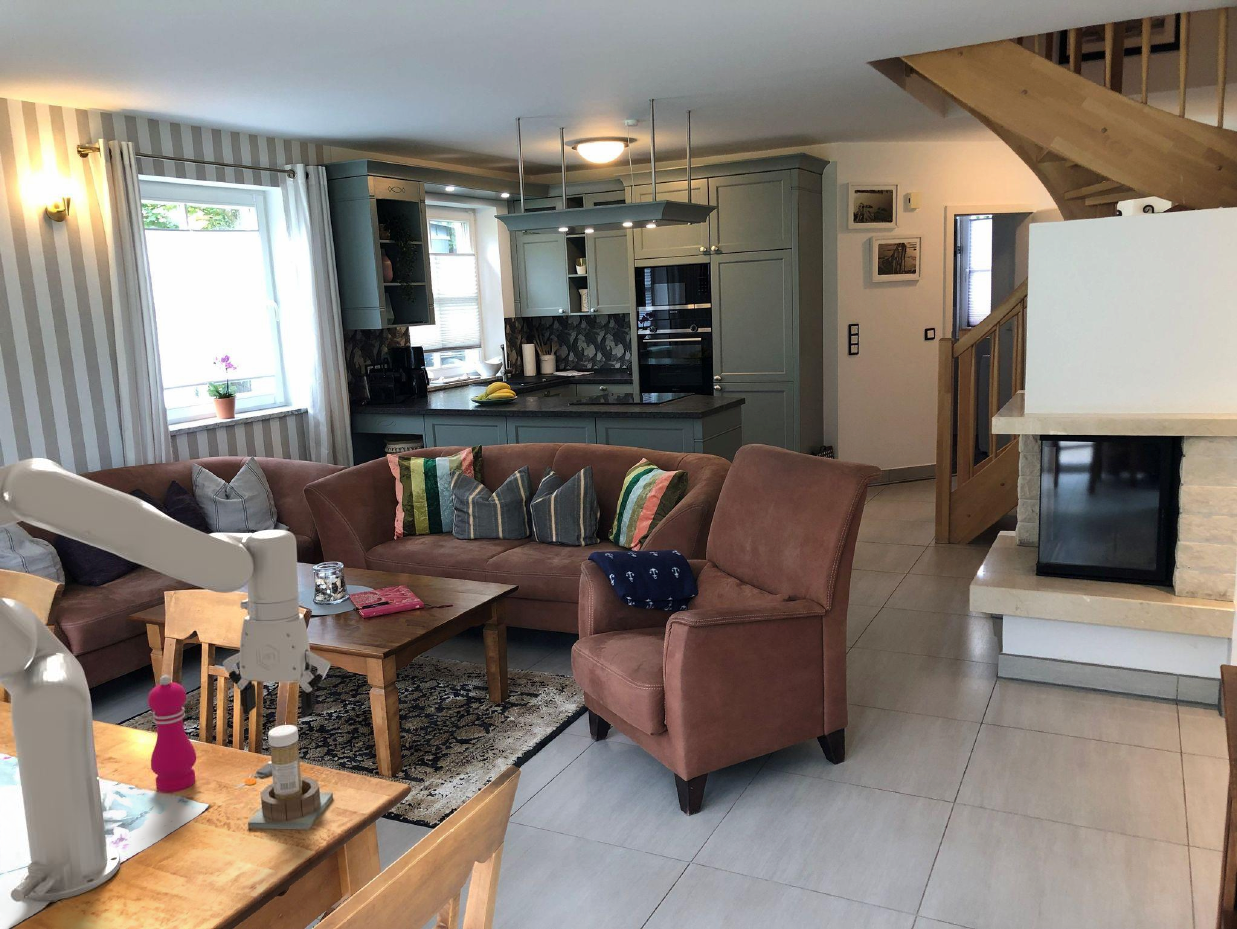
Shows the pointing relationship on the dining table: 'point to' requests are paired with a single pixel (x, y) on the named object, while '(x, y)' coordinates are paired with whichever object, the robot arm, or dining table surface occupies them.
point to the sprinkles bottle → (285, 762)
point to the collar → (291, 808)
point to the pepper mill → (171, 738)
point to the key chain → (258, 775)
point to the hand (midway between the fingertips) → (278, 711)
